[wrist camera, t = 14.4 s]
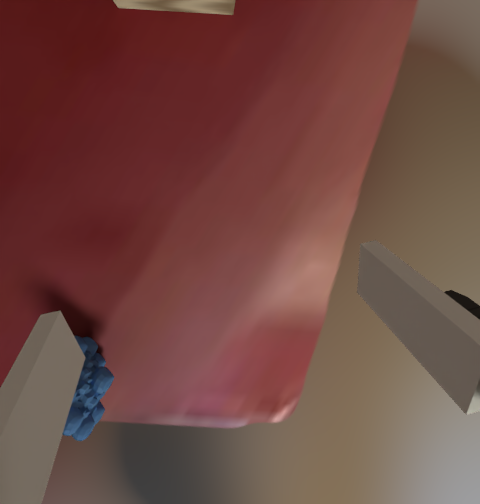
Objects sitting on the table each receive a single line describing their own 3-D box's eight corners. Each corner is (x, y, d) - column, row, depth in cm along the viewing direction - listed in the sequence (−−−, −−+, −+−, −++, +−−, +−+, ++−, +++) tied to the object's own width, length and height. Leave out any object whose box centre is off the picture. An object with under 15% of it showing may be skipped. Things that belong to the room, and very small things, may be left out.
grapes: (138, 380, 48) (115, 452, 37) (94, 389, 48) (59, 465, 37) (112, 315, 45) (79, 374, 33) (65, 325, 44) (16, 388, 33)
